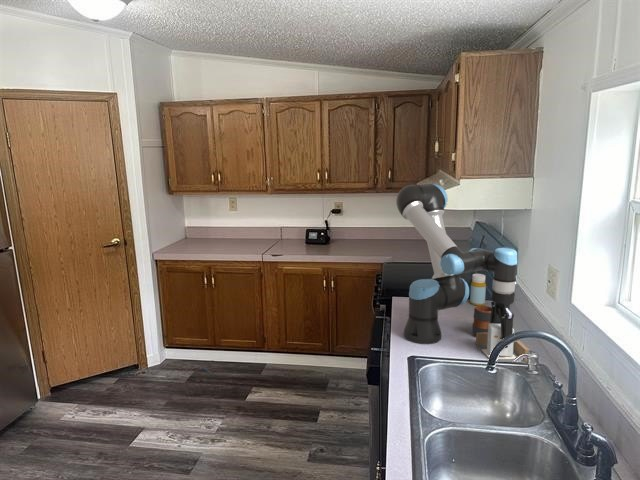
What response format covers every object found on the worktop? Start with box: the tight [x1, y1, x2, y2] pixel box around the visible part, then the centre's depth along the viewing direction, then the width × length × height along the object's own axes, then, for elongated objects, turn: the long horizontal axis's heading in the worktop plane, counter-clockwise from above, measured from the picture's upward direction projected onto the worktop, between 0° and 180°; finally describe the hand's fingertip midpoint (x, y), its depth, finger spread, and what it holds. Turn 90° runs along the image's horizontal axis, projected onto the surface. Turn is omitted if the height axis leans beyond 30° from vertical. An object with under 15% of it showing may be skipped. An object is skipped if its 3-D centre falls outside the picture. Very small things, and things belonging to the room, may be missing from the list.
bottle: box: [469, 273, 487, 306], centre depth 215 cm, size 7×7×15 cm
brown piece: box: [475, 332, 530, 364], centre depth 160 cm, size 13×16×5 cm
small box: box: [487, 323, 515, 356], centre depth 157 cm, size 8×6×10 cm
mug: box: [471, 305, 492, 338], centre depth 178 cm, size 9×12×12 cm
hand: (499, 350), depth 158 cm, fingers closed on small box, 6 cm apart
